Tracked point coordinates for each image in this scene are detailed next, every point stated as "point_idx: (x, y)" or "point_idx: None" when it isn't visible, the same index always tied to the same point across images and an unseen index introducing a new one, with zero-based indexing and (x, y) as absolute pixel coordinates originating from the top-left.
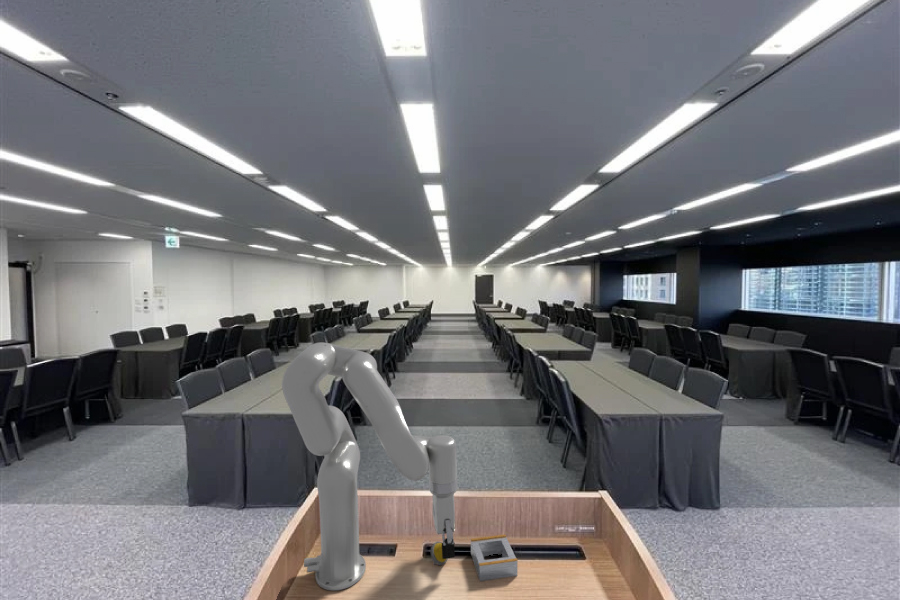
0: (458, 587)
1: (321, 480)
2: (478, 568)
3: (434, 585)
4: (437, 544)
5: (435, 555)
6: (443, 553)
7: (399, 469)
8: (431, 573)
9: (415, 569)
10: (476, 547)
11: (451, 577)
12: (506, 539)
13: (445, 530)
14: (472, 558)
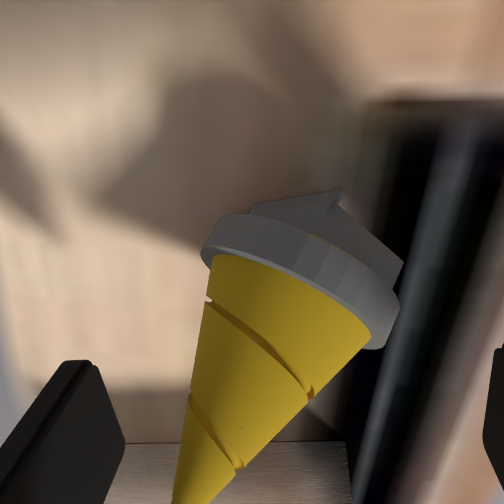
0: (50, 343)
1: None
2: (121, 497)
3: (36, 198)
4: (308, 322)
5: (219, 262)
6: (37, 411)
7: None
8: (156, 178)
9: (199, 18)
10: None
11: (128, 314)
12: None
13: (500, 449)
14: (295, 442)
